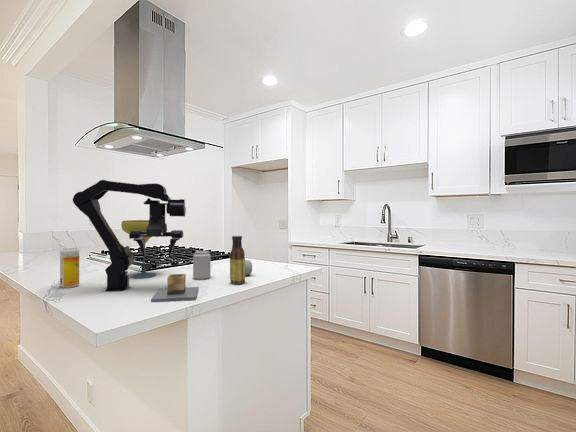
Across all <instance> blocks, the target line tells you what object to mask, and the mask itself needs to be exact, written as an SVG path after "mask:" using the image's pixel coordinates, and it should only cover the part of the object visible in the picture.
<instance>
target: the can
mask: <svg viewBox="0 0 576 432" xmlns="http://www.w3.org/2000/svg"><path fill="white" fill-rule="evenodd" d="M192 257H193V258H192V264H193V265H192V278H194V280H198V281H199V280H208V279H209V278H210V277H211V257H212V255H211V254H210V251H209V250H197V251H194V254H193V255H192Z"/></svg>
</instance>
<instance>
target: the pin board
mask: <svg viewBox="0 0 576 432" xmlns="http://www.w3.org/2000/svg"><path fill="white" fill-rule="evenodd" d="M199 288H200V287H199V286H192V287H191V286H189V287H186V286H185V292H184V294H178V295H167V287H164V288H163V287H161V288H160V287H159V289H157V291H156V292H155V293H154V295H153V296H152V297H151V299H150V303H160V302H161V303H162V302H163V303H164V302H184V301H185V302H186V301H196V300H197V296H198V293H199Z"/></svg>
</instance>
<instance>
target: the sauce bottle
mask: <svg viewBox="0 0 576 432" xmlns="http://www.w3.org/2000/svg"><path fill="white" fill-rule="evenodd" d="M231 239H232V246H231V251H230V254H229V280H230V284H232V285H242V284H244V283H246V276H245V260H246V257H245V250H244V248H243V245H242V242H243V241H242V239H243V236H242V235H239V234H238V235H232V236H231Z"/></svg>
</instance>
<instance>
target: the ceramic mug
mask: <svg viewBox="0 0 576 432" xmlns="http://www.w3.org/2000/svg"><path fill="white" fill-rule="evenodd" d="M252 271H253V263H252V262H251V260H249V259H248V260H247V259H245V277H246V276H249V275H251V274H252Z"/></svg>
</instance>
